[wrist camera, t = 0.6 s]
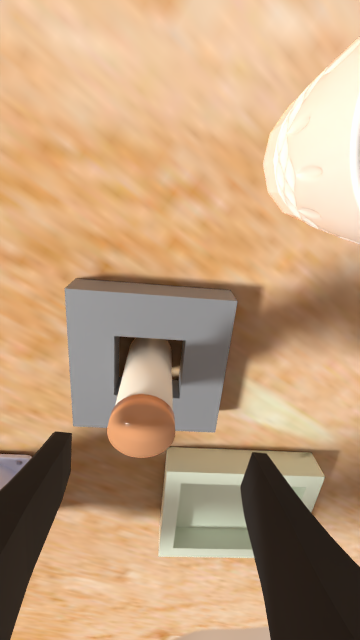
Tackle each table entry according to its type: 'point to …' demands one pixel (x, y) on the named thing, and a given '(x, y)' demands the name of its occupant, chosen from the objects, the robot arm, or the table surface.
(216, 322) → the grey square frame
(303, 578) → the robot arm
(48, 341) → the table surface
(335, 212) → the white cup
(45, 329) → the table surface
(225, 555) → the parts tray
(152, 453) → the cylinder
